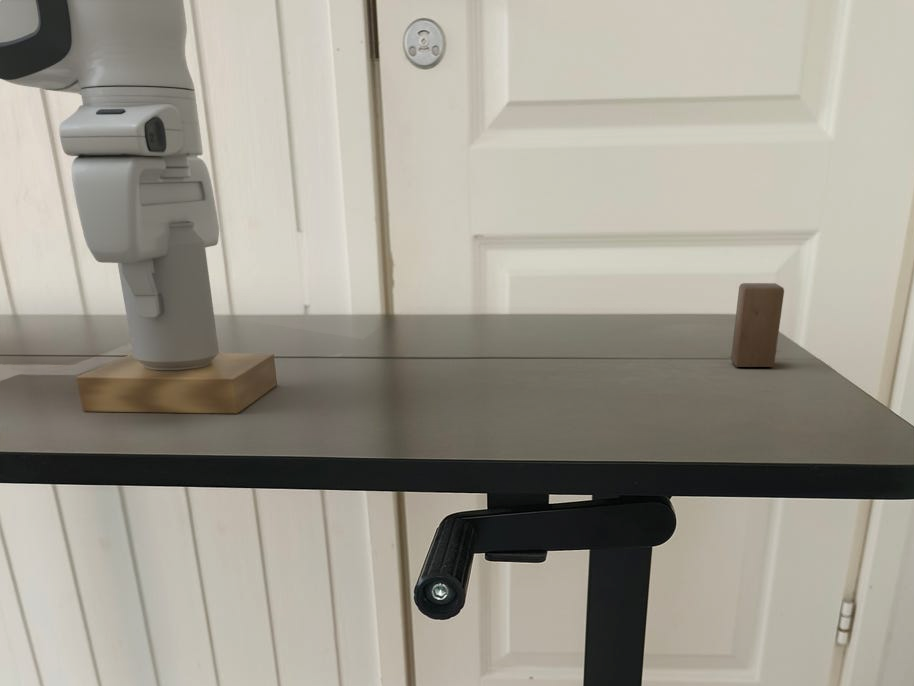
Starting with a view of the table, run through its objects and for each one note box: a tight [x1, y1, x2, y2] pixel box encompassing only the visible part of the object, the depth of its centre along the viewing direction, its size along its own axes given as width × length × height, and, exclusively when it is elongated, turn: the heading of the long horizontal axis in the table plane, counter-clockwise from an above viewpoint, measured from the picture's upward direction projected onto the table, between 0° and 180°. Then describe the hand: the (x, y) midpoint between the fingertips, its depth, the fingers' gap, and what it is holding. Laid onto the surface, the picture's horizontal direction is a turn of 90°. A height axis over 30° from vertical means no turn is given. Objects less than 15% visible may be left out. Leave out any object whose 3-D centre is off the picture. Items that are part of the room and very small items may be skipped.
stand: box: [76, 352, 278, 415], centre depth 84 cm, size 14×12×3 cm
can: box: [117, 221, 220, 370], centre depth 81 cm, size 8×8×12 cm
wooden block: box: [730, 282, 785, 368], centre depth 95 cm, size 4×4×8 cm
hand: (171, 309), depth 81 cm, fingers closed on can, 7 cm apart
